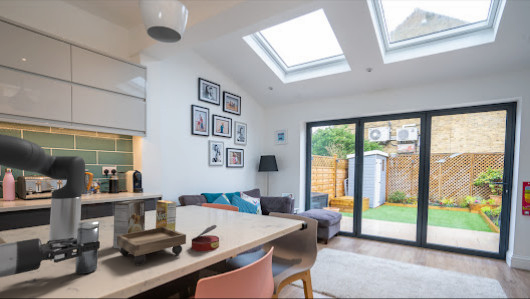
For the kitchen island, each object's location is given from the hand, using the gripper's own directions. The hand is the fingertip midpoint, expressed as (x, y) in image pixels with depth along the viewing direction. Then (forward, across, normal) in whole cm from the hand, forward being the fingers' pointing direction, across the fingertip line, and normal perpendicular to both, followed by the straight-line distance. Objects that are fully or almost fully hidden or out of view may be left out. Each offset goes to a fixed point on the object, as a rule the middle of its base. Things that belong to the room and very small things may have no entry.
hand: (96, 242), depth 72 cm
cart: (+16, 0, +7) cm, 17 cm away
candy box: (+27, +13, +8) cm, 31 cm away
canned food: (+33, -6, +8) cm, 34 cm away
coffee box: (+15, +17, +8) cm, 24 cm away
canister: (-2, 0, +7) cm, 7 cm away
